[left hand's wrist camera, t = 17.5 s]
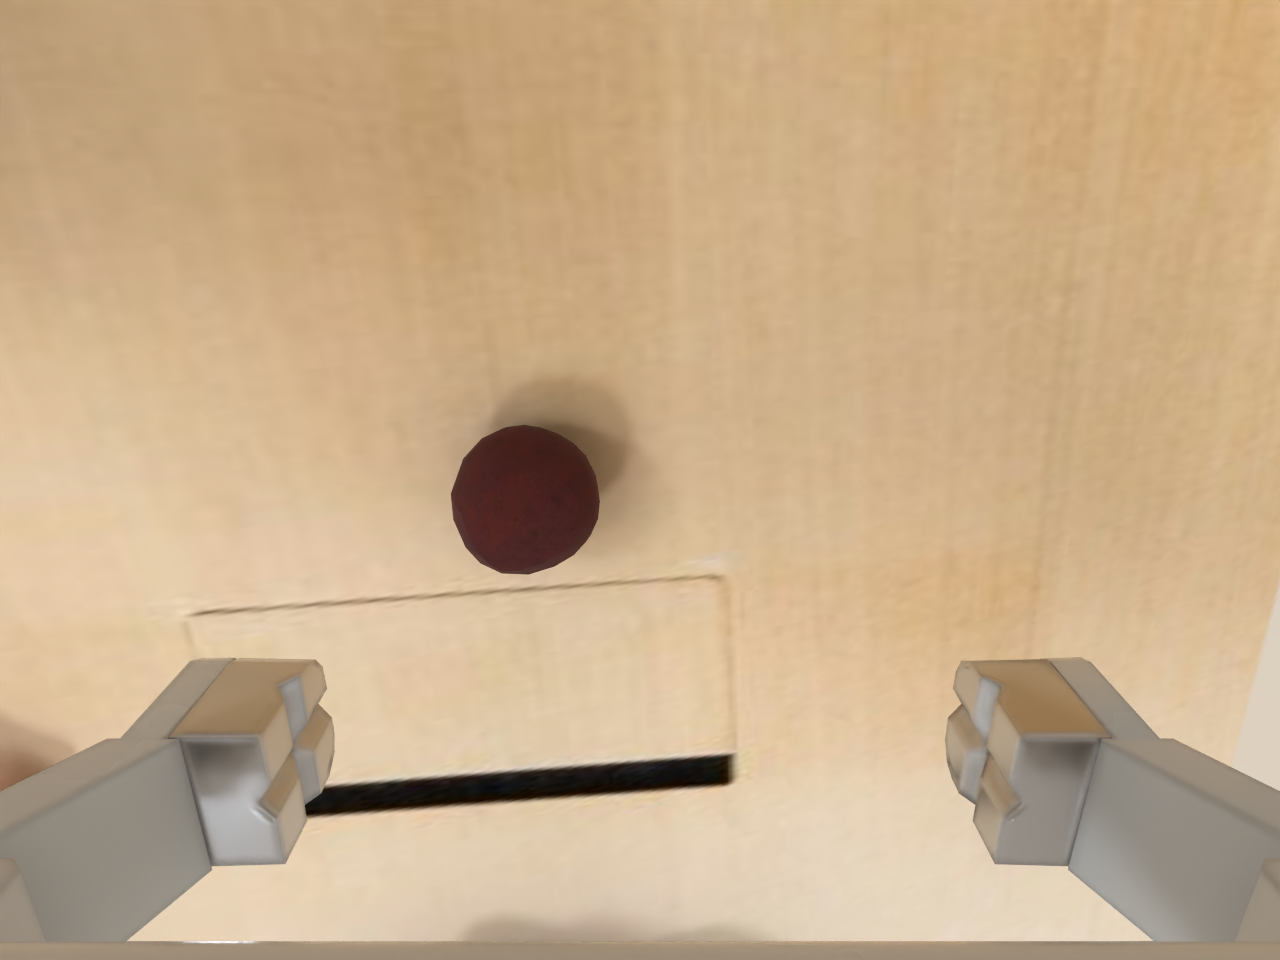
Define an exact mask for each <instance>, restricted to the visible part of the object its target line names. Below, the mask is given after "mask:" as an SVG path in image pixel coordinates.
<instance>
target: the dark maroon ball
mask: <svg viewBox="0 0 1280 960" xmlns="http://www.w3.org/2000/svg"><path fill="white" fill-rule="evenodd" d="M451 500H452V509H453V519H454V522H455V524H456V526H457V529H458V531H459V533H460V535H461V538H462V540H463V542H464V544H465V547H466V548H467V549H468V550H469V551H470V553H471V554H472V555H473V556H474V557H475V558H476V559H477V560H478V561H479V562H480V563H481V564H483V565H485V566H487V567H490V568H492V569H494V570H496V571H498V572H500V573H506V574H532V573H535V572H538V571H541V570H544V569H548V568H551V567H554V566H556V565H558V564H559V563H561V562H563V561H564V560H566V559H568V558H569V557H571V556H573V555H574V554H575V553H576V552H577V551H578V550H579V549H580V547H581V546H582V545H583V544H584V543H585V542H586V541H587V539H588V538H589V536H590V535H591V533H592V531H593V529H594V526H595V524H596V522H597V520H598V513H599V502H600V501H599V492H598V487H597V481H596V476H595V474H594V471H593V469H592V467H591V465H590V463H589V461H588V460H587V458H586V456H585V455H584V454H583V453H582V452H581V451H580V450H579V449H578V448H577V447H576V446H575V445H574V444H573V443H572V442H570V441H568V440H567V439H565V438H563V437H562V436H560V435H559V434H556V433H553V432H551V431H548V430H545V429H543V428H539V427H533V426H527V425H521V426H513V427H506V428H503V429H501V430H499V431H497V432H495V433H493V434H490V435H488V436H486V437H484V438H482V439H481V440H480V441H479V442H478V443H477V444H476V446H475V447H474V448H473V449H472V450H471V451H470V452H469V453H468V454H467V455H466V457H465V458H464V459H463V461H462V464H461V467H460V470H459V473H458V475H457V478H456V481H455V484H454V487H453V489H452V492H451Z"/></svg>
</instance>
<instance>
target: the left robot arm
mask: <svg viewBox="0 0 1280 960" xmlns="http://www.w3.org/2000/svg"><path fill="white" fill-rule="evenodd" d="M326 689H327V686H326V681H325V677H324V672H323V667H322V666H321V665H320V664H319V663H318V662H317V661H316V660H306V659H258V658H239V659H236V658H199V659H196V660H192V661H190V662H189V663H188V664H187V665H186V666H185V667H184V668H183V670H182V671H181V672H180V673H179V674H178V675H177V676H176V677H175V678H174V680H173V681H172V682H171V683H170V684H169V685H168V686H167V687H166V688H165V690H164V691H163V692H162V693H161V694H160V695H159V696H158V697H157V698H156V700H155V701H154V702H153V703H152V704H151V705H150V706H149V707H148V708H147V709H146V711H145V712H144V713H143V714H142V715H141V716H140V717H139V718H138V719H137V721H136V722H135V723H134V724H133V725H132V726H131V727H130V728H129V729H128V731H127V732H126V733H125V734H124V735H123V736H122V737H121V738H120V739H106V740H104V741H101V742H99V743H97V744H95V745H93V746H91V747H89V748H87V749H85V750H83V751H81V752H79V753H77V754H75V755H73V756H71V757H69V758H67V759H65V760H63V761H61V762H59V763H57V764H55V765H53V766H51V767H48V768H46V769H44V770H42V771H40V772H38V773H36V774H34V775H32V776H30V777H28V778H26V779H24V780H22V781H20V782H18V783H16V784H14V785H12V786H10V787H8V788H6V789H4V790H2V791H0V960H1280V791H1278V790H1276V789H1274V788H1272V787H1270V786H1268V785H1266V784H1264V783H1262V782H1260V781H1258V780H1256V779H1254V778H1252V777H1250V776H1248V775H1246V774H1244V773H1241V772H1239V771H1237V770H1235V769H1233V768H1231V767H1229V766H1227V765H1225V764H1223V763H1221V762H1219V761H1217V760H1215V759H1213V758H1211V757H1209V756H1207V755H1205V754H1203V753H1201V752H1199V751H1197V750H1195V749H1193V748H1191V747H1189V746H1187V745H1185V744H1183V743H1181V742H1179V741H1176V740H1174V739H1160V738H1159V737H1158V736H1157V735H1156V734H1155V733H1154V732H1153V731H1152V729H1151V728H1150V727H1149V726H1148V725H1147V724H1146V723H1145V722H1144V721H1143V719H1142V718H1141V717H1140V716H1139V715H1138V714H1137V713H1136V712H1135V711H1134V709H1133V708H1132V707H1131V706H1130V705H1129V704H1128V703H1127V702H1126V701H1125V700H1124V698H1123V697H1122V696H1121V695H1120V694H1119V693H1118V692H1117V691H1116V690H1115V688H1114V687H1113V686H1112V685H1111V684H1110V683H1109V682H1108V681H1107V680H1106V678H1105V677H1104V676H1103V675H1102V674H1101V673H1100V672H1099V671H1098V670H1097V668H1096V667H1095V666H1094V665H1093V664H1092V663H1091V662H1090V661H1087V660H1085V659H1083V658H1081V657H1077V658H1048V659H1035V660H981V661H961V663H960V665H959V667H958V669H957V671H956V675H955V680H954V686H953V689H954V691H955V693H956V694H957V696H958V698H959V700H960V701H961V703H962V704H961V705H960V706H959V707H958V708H957V709H956V710H955V711H954V712H953V713H952V714H951V715H950V716H949V717H948V722H947V730H946V738H945V743H946V755H947V763H948V767H949V770H950V774H951V777H952V779H953V782H954V784H955V786H956V788H957V790H958V792H959V794H961V795H962V796H964V797H965V798H967V799H968V800H969V801H971V802H972V803H974V804H975V805H976V806H975V811H974V817H973V822H974V824H975V826H976V828H977V830H978V832H979V834H980V836H981V838H982V840H983V842H984V844H985V845H986V847H987V849H988V851H989V853H990V855H991V857H992V859H993V861H994V863H995V864H1010V865H1046V866H1069V867H1068V870H1069V871H1070V872H1072V873H1073V874H1074V875H1075V876H1076V877H1078V878H1079V879H1080V880H1081V881H1082V882H1084V883H1085V884H1086V885H1087V886H1088V887H1090V888H1091V889H1092V890H1093V891H1094V892H1096V893H1097V894H1098V895H1099V896H1100V897H1102V898H1103V899H1104V900H1105V901H1106V902H1108V903H1109V904H1110V905H1111V906H1113V907H1114V908H1115V909H1116V910H1117V911H1119V912H1120V913H1121V914H1122V915H1123V916H1125V917H1126V918H1127V919H1128V920H1129V921H1131V922H1132V923H1133V924H1134V925H1135V926H1137V927H1138V928H1139V929H1140V930H1141V931H1143V932H1144V933H1145V934H1146V935H1147V936H1149V937H1150V938H1151V939H1152V940H1153V941H634V942H422V941H127V940H128V939H129V938H130V937H132V936H133V935H134V934H135V933H136V932H138V931H139V930H140V929H141V928H142V927H144V926H145V925H146V924H147V923H149V922H150V921H151V920H152V919H153V918H155V917H156V916H157V915H158V914H159V913H161V912H162V911H163V910H164V909H165V908H167V907H168V906H169V905H170V904H171V903H173V902H174V901H175V900H176V899H177V898H179V897H180V896H181V895H182V894H183V893H185V892H186V891H187V890H188V889H189V888H191V887H192V886H193V885H194V884H196V883H197V882H198V881H199V880H200V879H202V878H203V877H204V876H205V875H206V874H208V873H209V872H210V871H211V870H212V868H211V866H233V865H268V864H285V863H286V861H287V859H288V857H289V855H290V853H291V851H292V850H293V848H294V846H295V844H296V842H297V840H298V838H299V836H300V834H301V832H302V830H303V828H304V826H305V824H306V822H307V817H306V811H305V806H304V805H305V804H306V803H308V802H309V801H311V800H312V799H313V798H315V797H316V796H318V795H319V794H321V792H322V790H323V788H324V786H325V784H326V781H327V779H328V777H329V774H330V770H331V765H332V761H333V756H334V728H333V722H332V717H331V716H330V715H329V714H328V713H327V712H326V711H325V710H324V709H323V708H322V707H321V706H320V705H319V704H318V703H319V701H320V700H321V698H322V696H323V694H324V693H325V691H326Z"/></svg>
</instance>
